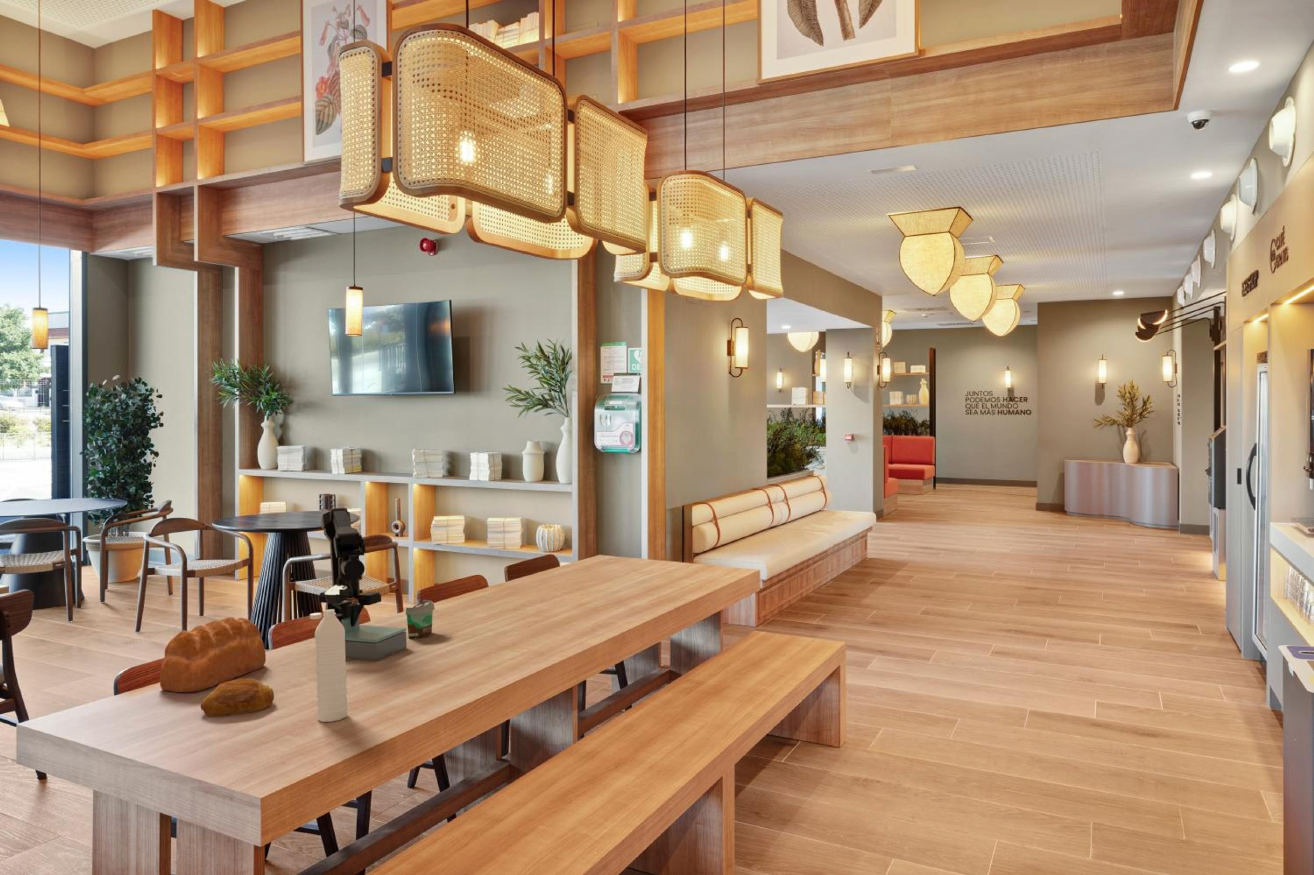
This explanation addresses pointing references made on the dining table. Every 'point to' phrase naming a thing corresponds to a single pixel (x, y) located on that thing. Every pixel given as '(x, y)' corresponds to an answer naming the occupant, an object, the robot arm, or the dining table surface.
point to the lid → (368, 631)
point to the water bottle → (330, 667)
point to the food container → (420, 620)
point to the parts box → (375, 648)
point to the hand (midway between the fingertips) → (350, 626)
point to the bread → (211, 655)
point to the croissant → (237, 698)
